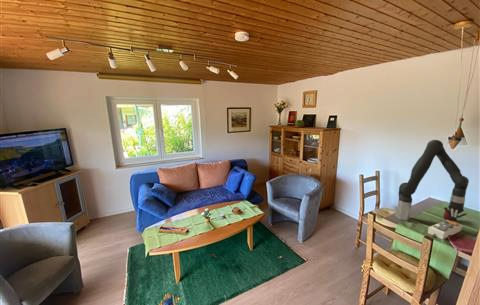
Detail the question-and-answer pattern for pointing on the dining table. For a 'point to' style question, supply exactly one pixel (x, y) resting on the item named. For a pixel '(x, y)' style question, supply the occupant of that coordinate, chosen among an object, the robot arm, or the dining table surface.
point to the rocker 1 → (442, 227)
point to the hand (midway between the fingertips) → (453, 221)
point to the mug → (447, 215)
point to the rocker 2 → (453, 222)
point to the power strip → (444, 234)
